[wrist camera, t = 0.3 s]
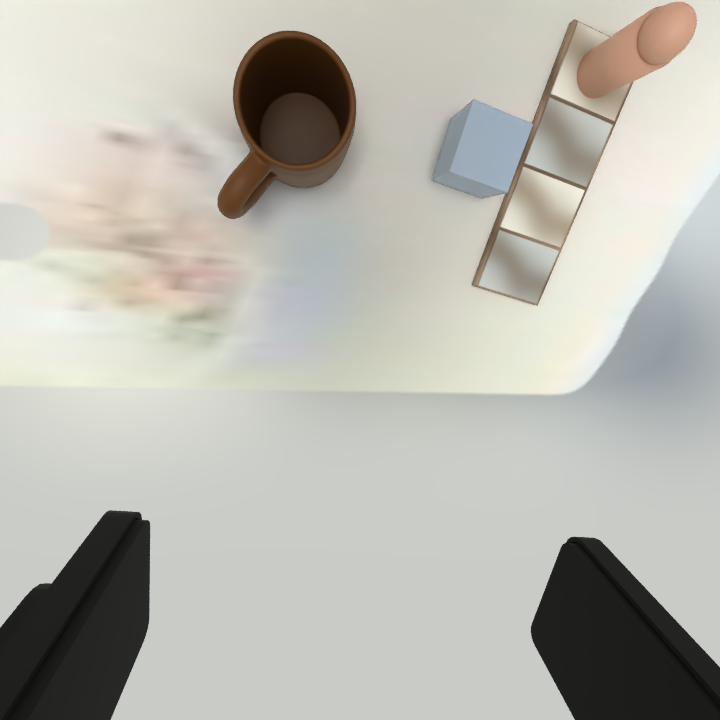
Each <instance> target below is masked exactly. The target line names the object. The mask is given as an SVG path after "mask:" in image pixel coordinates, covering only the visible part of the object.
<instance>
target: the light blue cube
mask: <svg viewBox="0 0 720 720" xmlns="http://www.w3.org/2000/svg"><path fill="white" fill-rule="evenodd" d="M532 126H533V124H532V123H530V122H527V121H525V120H522V119H520V118H518V117H515V116H513V115H510V114H508V113H505V112H503V111H501V110H498V109H496V108H493V107H491V106H489V105H486V104H484V103H481V102H479V101H476V100H474V99H473V100H472V101H471V102H470V103H469V104H468V105H467V106H465V107H464V108H463V109H462V110H461V111H460V112H458V113H457V114H456V115H455V116H454V117H453V118H451V121H450V124H449V127H448V130H447V133H446V136H445V139H444V142H443V146H442V149H441V152H440V155H439V158H438V161H437V164H436V167H435V170H434V173H433V177H432V181H435V182H438V183H440V184H443V185H446V186H449V187H451V188H454V189H457V190H460V191H462V192H465V193H468V194H471V195H474V196H476V197H479V198H486V197H491V196H495V195H500V194H504V193H507V192H508V190H509V187H510V184H511V182H512V179H513V176H514V174H515V171H516V168H517V166H518V163H519V160H520V158H521V155H522V152H523V150H524V147H525V144H526V142H527V139H528V136H529V134H530V131H531V128H532Z"/></svg>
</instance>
